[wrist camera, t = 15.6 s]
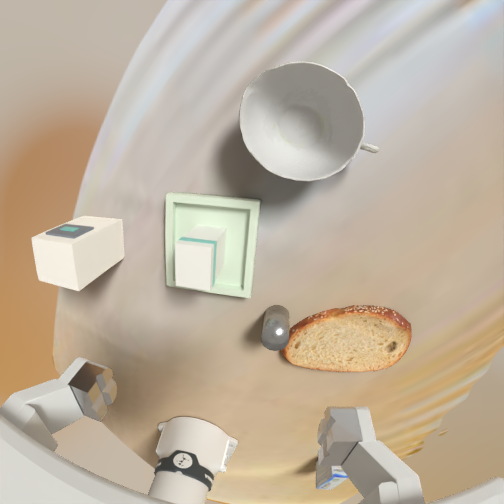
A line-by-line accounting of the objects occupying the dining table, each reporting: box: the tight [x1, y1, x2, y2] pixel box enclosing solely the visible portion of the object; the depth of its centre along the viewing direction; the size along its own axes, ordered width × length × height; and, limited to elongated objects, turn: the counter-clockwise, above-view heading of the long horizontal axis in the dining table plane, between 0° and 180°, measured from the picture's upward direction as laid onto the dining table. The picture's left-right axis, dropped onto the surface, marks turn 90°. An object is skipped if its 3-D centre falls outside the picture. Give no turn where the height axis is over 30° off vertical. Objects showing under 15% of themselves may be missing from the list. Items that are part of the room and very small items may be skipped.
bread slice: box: [280, 305, 411, 372], centre depth 40 cm, size 18×18×4 cm
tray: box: [165, 192, 261, 298], centre depth 37 cm, size 13×12×2 cm
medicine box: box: [316, 460, 348, 490], centre depth 49 cm, size 8×4×9 cm, turn 163°
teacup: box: [239, 61, 379, 181], centre depth 28 cm, size 15×12×8 cm
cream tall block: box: [32, 216, 125, 291], centre depth 34 cm, size 7×8×12 cm
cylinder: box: [261, 305, 289, 351], centre depth 38 cm, size 4×4×6 cm
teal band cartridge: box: [175, 225, 227, 291], centre depth 34 cm, size 5×4×8 cm
